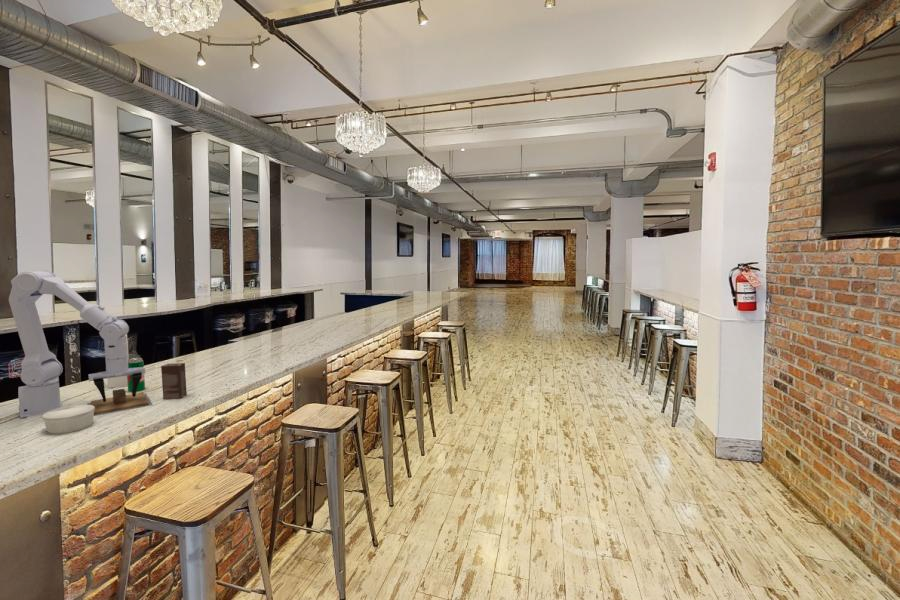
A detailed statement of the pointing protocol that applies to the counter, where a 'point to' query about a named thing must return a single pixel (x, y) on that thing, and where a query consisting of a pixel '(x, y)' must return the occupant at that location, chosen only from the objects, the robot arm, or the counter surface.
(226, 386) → the counter surface
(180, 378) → the box
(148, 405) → the mat
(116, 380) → the milk
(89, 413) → the ramekin
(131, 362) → the soda can
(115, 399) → the lid
